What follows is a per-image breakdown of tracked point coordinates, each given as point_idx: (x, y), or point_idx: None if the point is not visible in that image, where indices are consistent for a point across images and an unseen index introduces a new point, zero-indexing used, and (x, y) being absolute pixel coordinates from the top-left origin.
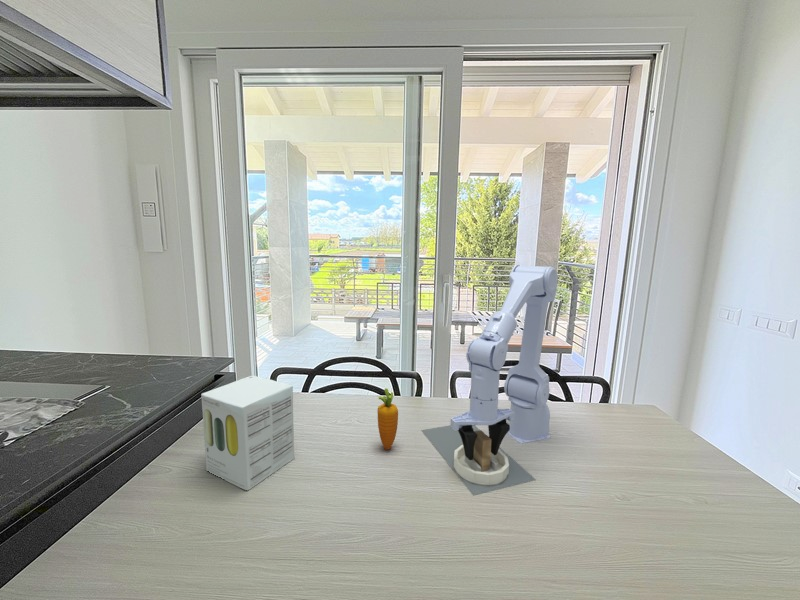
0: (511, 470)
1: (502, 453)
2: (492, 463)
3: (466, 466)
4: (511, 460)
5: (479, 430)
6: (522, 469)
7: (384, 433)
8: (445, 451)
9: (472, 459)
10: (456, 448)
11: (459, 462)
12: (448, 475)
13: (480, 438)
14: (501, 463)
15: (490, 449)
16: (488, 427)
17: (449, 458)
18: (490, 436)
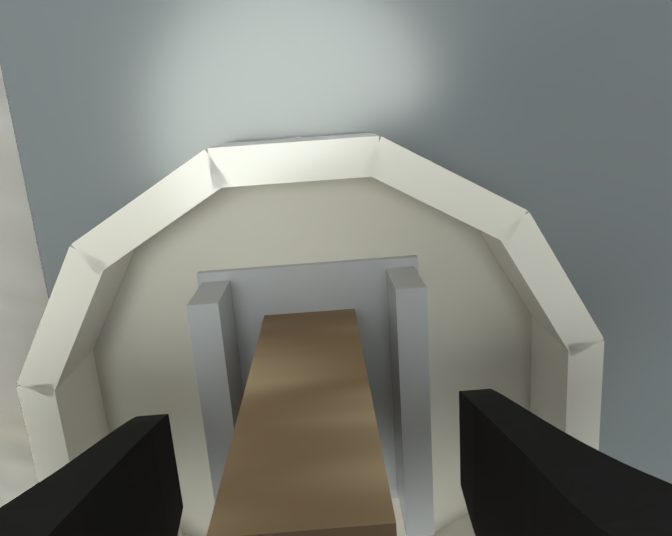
0: None
1: (588, 415)
2: (403, 488)
3: (186, 362)
4: (660, 339)
5: (356, 531)
6: (658, 465)
7: None
8: (76, 30)
9: (178, 512)
10: (224, 3)
11: (52, 459)
12: (16, 367)
13: None
14: (530, 392)
15: None
16: (590, 526)
17: (80, 171)
18: (531, 498)
